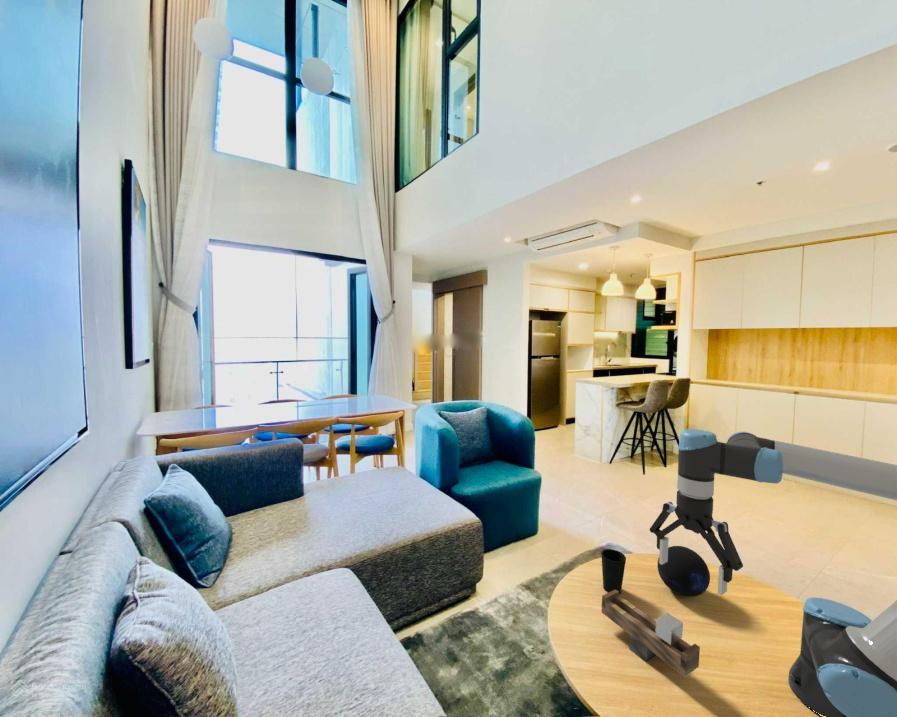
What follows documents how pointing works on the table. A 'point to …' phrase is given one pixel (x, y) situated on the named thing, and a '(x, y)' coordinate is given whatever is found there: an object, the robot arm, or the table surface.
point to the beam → (648, 635)
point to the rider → (669, 629)
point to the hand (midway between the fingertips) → (690, 576)
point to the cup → (612, 569)
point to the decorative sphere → (684, 572)
